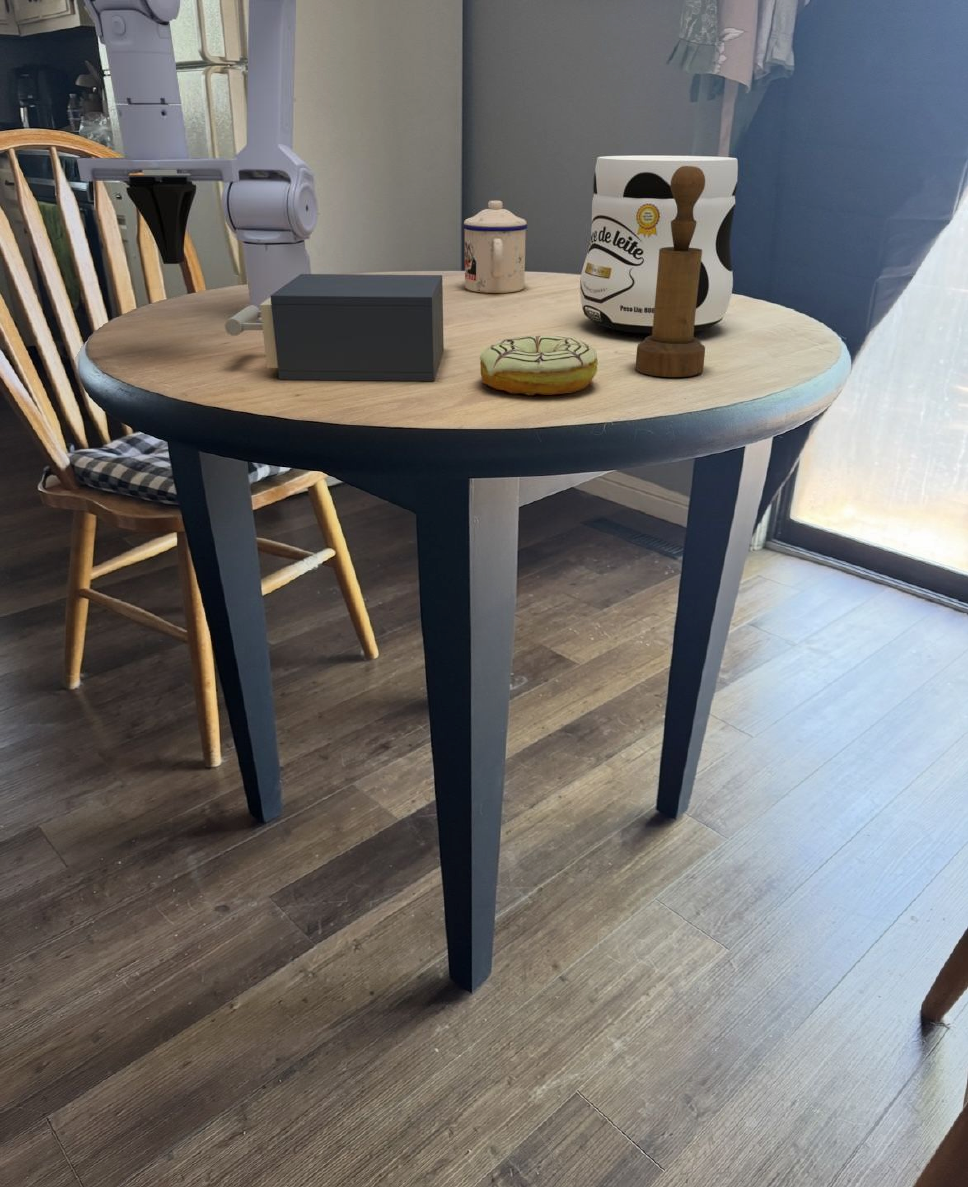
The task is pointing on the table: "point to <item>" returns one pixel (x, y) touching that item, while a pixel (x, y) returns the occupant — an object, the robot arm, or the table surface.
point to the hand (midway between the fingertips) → (173, 262)
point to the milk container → (654, 238)
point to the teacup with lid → (495, 251)
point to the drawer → (256, 327)
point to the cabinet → (359, 327)
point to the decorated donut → (539, 365)
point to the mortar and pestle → (676, 290)
